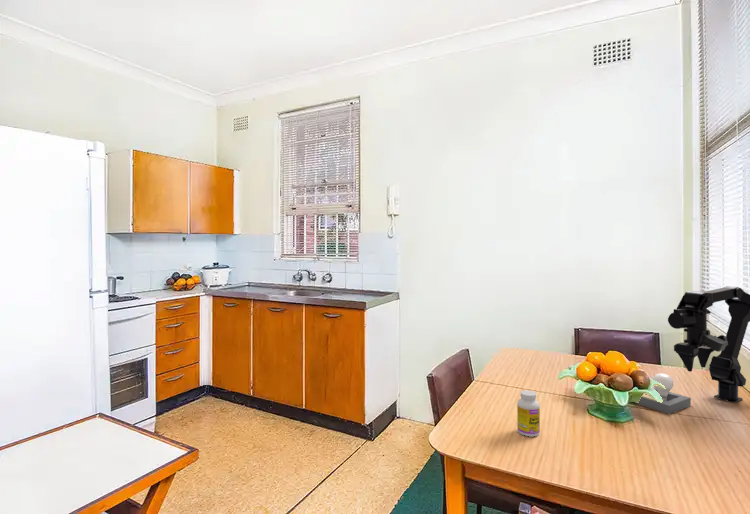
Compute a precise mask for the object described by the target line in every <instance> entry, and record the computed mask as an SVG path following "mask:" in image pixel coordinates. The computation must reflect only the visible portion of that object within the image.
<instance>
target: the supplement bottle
mask: <svg viewBox="0 0 750 514" xmlns="http://www.w3.org/2000/svg"><path fill="white" fill-rule="evenodd" d="M519 393H520V394H519V395H520V399H517V405H516V406H517V407H516V408H517V411H516V412H517V416H516V417H517V418H516V419H517V420H516V421H517V423H516V424H517V428H516V429H517V432H518V434H520V435H522V436H524V435H525V436H524V437H528V436H529V437H530V438H535V437H537V436H539V435H540V434H541V433H540V431H541V430H540V429H541V427H540V426H541V425H540V424H541V422H540V419H541V417H540V416H541V415H540V407H541V406H540V403H539V401H537V393H536V392H534V391H533V390H527V389H525V390H521V391H520V392H519ZM534 436H535V437H534Z"/></svg>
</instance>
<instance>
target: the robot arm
mask: <svg viewBox="0 0 750 514" xmlns="http://www.w3.org/2000/svg"><path fill="white" fill-rule="evenodd" d="M722 301H724V302H725V304H726V305H727V306H728V309H727V310H728V313H729V315H730V322H729V325H728V327H727V331H726V335H723V334H721V335H718V336H717V335H712V334H711V331H710V329H707V328H708V327H707V326H708V325H707V323H708V322H707V321H708V320H707V319H708V318H707V315H709V314H711V313H712V312H711V311H710V310H709V309H708V308H710V307H712V306H714V304H715V303H718V302H722ZM667 322H668V324H669V325H670V327H671V328H672V329H675V330H676V329H677V330H678V329H683V332H685V333H686V339H683V342H678V343H676V344H674V345H673V351H674V352H675V353H676V354H677V355H678V356H679V358H680V360H681V361H682V363H683V365H684V366H685V369H686V370H687V371H688V372H691V373H692V371H693V367H694V362H695V361H694V360H695V358H696V357H697V360H698V362H699V365H700V367H701V368H704V369H705V368H706V366H707V364H708V360H709V358H710V356H711V354H712V353H713V352H718V353H720V354H718V355H717V356H715V355H713V356H712V357H711V360H710V364H709V367H708V370H709V375H710V377H711V380H712V381H717V388H718V389H717V394H716V395H713V398H715V399H719V400H723V401H726V402H730V403H734V404H735V403H737V402H740V401H743V400H742V399H743V397H740V396H739V387H740V388H741V387H744V386H746V383H747V379H746V377H745V376H744V375H743V374H742V373H741V371H742V366H741V364H740V362H739V359H738V358H739V355H740V351H741V348H742V345H743V342H744V338H745V336H746V332H747V328H748V325H749V323H750V293H748V292H746V291H745V290H744V289H743V288H741V287H739V286H727V285H726V286H724V287H723V286H722V287H721V288H716V289H711V290H706V291H696V290H695V291H694V290H688V291H685V292H684V294H683V296H682V297H681V299H680V301H679V303H678V305H677V306H676V308H674V309H673V312H671V313H670V314H669V315H668V317H667Z"/></svg>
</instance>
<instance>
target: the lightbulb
mask: <svg viewBox="0 0 750 514" xmlns="http://www.w3.org/2000/svg"><path fill="white" fill-rule="evenodd" d="M652 380H655V381H657V382H659V383H661V384H662V385H664V386H665V388H666V389H663V388H661V387H659V386H654V385H653V387H654V388H656V390H657V392H658V393H659V394H660V396H661V397H662V399H664V400H666V401H667V396H668V393H669V392H671V390H672V389H673V387H674V381H673V379H672V377H671V376H670V375H668V374H667V373H662V372H661V373H656V374H654V375H653V377H652ZM652 380H651V381H652Z"/></svg>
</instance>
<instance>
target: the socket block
mask: <svg viewBox="0 0 750 514" xmlns="http://www.w3.org/2000/svg"><path fill="white" fill-rule="evenodd" d="M654 389H655V390H656V388H655V387H654ZM656 391H657V390H656ZM691 399H692V398H691V397H689V396H685V395H682V394H679V393H675V392H672V391H669V393H668V396H667V401H666V400H664V399H662V400H663V402H662V403H660V402H657V401H656V400H654V399H653V398H652V397H651V396H650V395H647V394H645V395H643V396H642V397H641V399H640V401H639V403H638V404H637V405H639V406H643V407H646V408H649V409H651V410H654V411H658V412H662V413H664V414H667V415H671V414H674V413H676V412H679V411H681V410H683V409H686V408H689V407H691V403H692V401H691Z"/></svg>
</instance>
